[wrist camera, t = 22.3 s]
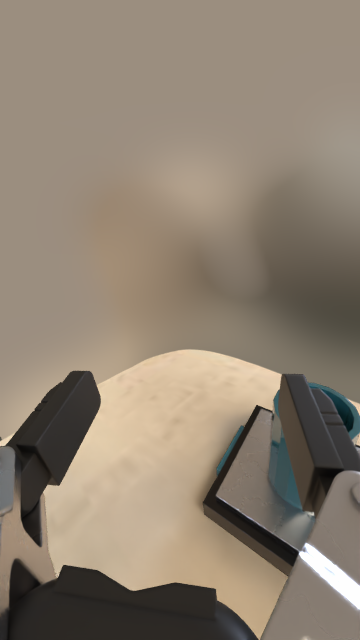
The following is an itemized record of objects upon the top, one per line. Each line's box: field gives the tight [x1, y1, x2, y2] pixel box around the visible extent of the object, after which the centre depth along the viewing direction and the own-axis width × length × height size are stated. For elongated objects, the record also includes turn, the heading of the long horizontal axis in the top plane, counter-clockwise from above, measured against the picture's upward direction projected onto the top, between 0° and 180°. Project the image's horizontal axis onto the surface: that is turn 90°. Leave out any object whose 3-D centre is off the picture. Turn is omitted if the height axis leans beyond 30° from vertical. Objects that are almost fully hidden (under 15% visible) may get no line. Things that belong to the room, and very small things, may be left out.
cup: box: [268, 383, 360, 510], centre depth 24 cm, size 7×7×10 cm
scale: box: [203, 405, 360, 576], centre depth 27 cm, size 16×15×3 cm
